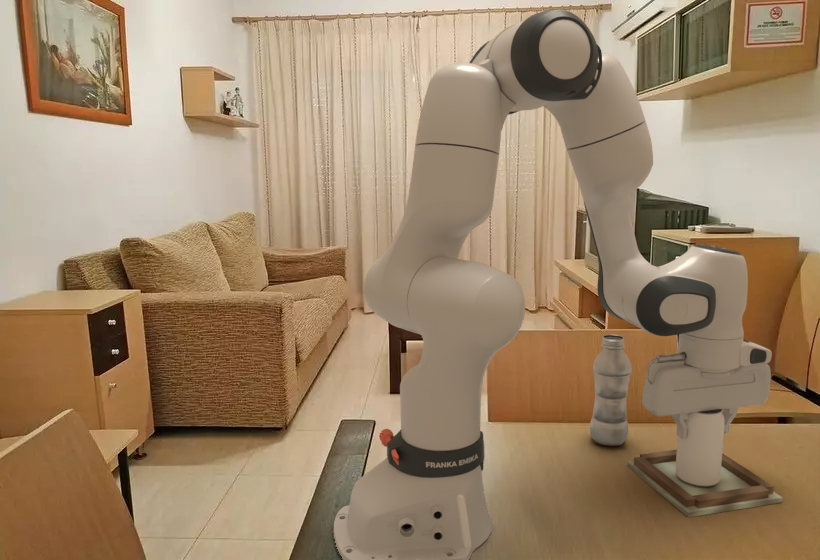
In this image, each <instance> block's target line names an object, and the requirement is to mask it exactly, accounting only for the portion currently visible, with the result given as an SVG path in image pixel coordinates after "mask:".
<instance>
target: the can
mask: <svg viewBox="0 0 820 560" xmlns="http://www.w3.org/2000/svg"><path fill="white" fill-rule="evenodd" d="M722 411H723V410H722V409H719V410H711V411H702V412H694V413H688V417H687V419H684V421H685V423H686V425H687V427H688V437H687V438H686V439H681V438H680V437H678V436H677V442H676V450H677V455H676V475H677V476H678V477H679V479H680V480H682V481H683V482H685V483H687V484H690V485H694V486H699V487H711V486H714V485H716V484H717V483H718V482H719V481H720V474H721V462H722V453H723V447H724V435H725V434H724V421H725V420H724V416H723V414H722Z"/></svg>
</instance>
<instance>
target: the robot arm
mask: <svg viewBox="0 0 820 560" xmlns="http://www.w3.org/2000/svg"><path fill="white" fill-rule="evenodd" d="M540 108H545V109H547V111H548V112H550V113H551V114H552V116H553V117H554V119H555V120H556V122H557V123H558V126H559V127H560V131H561V135H562V139H563V142H564V146H565V148H566V152H567V154H568V158H569V160H570V164H571V166H572V169H573V172H574V175H575V177H576V181H577V183H578V186H579V189H580V192H581V197H582V200H583V205H584V209H585V213H586V218H587V222H588V226H589V229H590V234H591V237H592V241H593V245H594V248H595V251H596V257H597V262H598V277H597V286H596V287H597V288H596V290H597V297H598V300H599V302H600V304H601V306H602V308H603V309H604V310H605V311H606V312H607V313H608V314H610V315H611V316H613V317H615V318H616V319H617V318H618V319H620V320H623V321H625V322H627V323H629V324H631V325H633V326H635V327H637V328H639V329H641V330H643V331H644V332H647V333H649V334H650V335H655V336H659V337H671V336H677V335H678V347H677V352H675V353H674V352H673V353H670V354H659V355H656V357H655V358H653V359H651V360H650V361H649V363H648V364H647V367H646V377H645V381H644V384H643V385H644V386H643V391H642V397H641V398H642V399H641V403H642V404H641V405H642V406H643V407H644V408H645V409H646V410H647V412H649V413H650V414H652V415H653V416H656V417H665V416H666V417H668V416H671V417H672V419H673V421H674V423H675V425H676V436H677V438H678V437H680V438H681V439H686V438H687V437H688V427H687V425H686V423H685V421H684V419H687V417H688V413H694V412H702V411H711V410H719V409H722V414H723V416H724V420H725V421H724V435H725V434H729V433H730V425H731V423H732V422H733V420H734V419H735V417H736V416H737V414H738V408H743V407H745V408H746V407H752V406H753V407H754V406H760V405H764V404H765V403H766V401H767V400H768V399H769V397H770V393H771V392H770V391H771V379H772V377H771V376H772V375H771V374H772V373H771V367H770V365H769V364H768V363H770V362H771V360H772V354H773V353H772V351H771V349H769V348H767V347H764V346H762V345H760V344H757V343H755V342H752V341H749V340H747V339H744V337H745V335H744V334H745V333H744V332H745V331H744V327H743V316H744V314H745V311H746V309H747V303H748V302H747V301H748V287H749V286H748V285H749V281H748V280H749V278H748V277H749V274H748V266H747V262H746V258H745V257H744V255H743V254H742V253H740V252H739V251H736V250H735V249H730V248H726V247H722V246H721V247H720V246H718V245H711V244H704V243H701V244H699V243H698V244H692V245H691V246H689V247H690V248H689V249H688V250H686V252H685V253H683V254H681V255H680V256H679V257H677V258H675V259H674V260H672V261H669V262H668V263H666V264H663V265H660V266H655V265H653V264H651V263H650V262H649V261H647V260H646V258H644V256H643V255H642V254H641V252H640V249H639V248H638V247H639V246H638V244H637V243H638V242H637V239H636V235H635V230H634V227H633V222H632V217H631V214H630V206H629V205H630V199H631V198H632V194H633V193H634V192H635V191H636V190H637V189H638V188H640V186H642V184H643V183H644V182H645V181H646V180H647V178H648V176H649V175H650V173H651V171H652V168H653V165H654V154H653V153H654V152H653V144H652V143H653V142H652V138H651V134H650V131H649V127H648V124H647V122H646V117H645V114H644V112H643V108H642V106H641V103H640V101H639V97H638V96H637V93H636V91H635V88H634V86H633V84H632V82H631V80H630V78H629V76H628V74H627V72H626V71H625V69H624V67H623V64H621V62H620V61H619V59H618V58H617V57H615V56H614V55H612V54H610V53H605V52H602V49H601V47H600V46H599V45H598V44H597V41H596V38H595V36H594V35H593V33H592V31H591V29H590V28H589V27H588V25H587V24H586V23H585V22H584V21H583V20H582V19H581V18H580V17H579V16H577V15H576V14H575V13H573V12H571V11H570V10H569V11H568V10H565V9H564V10H563V9H549V10H545V11H544V10H543V11H540V12H537V13H533V14H532V15H530V16H529V17H527V18H526V19H524V20H522V21H520V22H518V23H515V24H513V25H510V26H507V27H506V28H504V29H503V30H501V31H500V32H499V33H497V34H496V35H495V36H494V37H493V38H492V39H490V40H488V41H487V42H485V43H484V44H483V45H482V46H480V47H479V49H478V50H477V51H476V52H475V53H474V55H473V56H472V58H471V59H470V61H469V62H455V63H450V64H448V65H445V66H442V67H441V68H439V69H438V70H437V71H436V72H435V73H434V74H433V75H432V76H431V78H430V80H429V83H428V85H427V89H426V93H425V95H424V98H423V103H422V107H421V110H420V115H419V120H418V125H417V130H416V137H415V145H414V153H413V161H412V167H411V175H410V176H411V177H410V181H409V182H410V183H409V191H408V197H407V201H406V205H405V208H404V213H403V215H402V218H401V221H400V223H399V226H398V228H397V231H396V233H395V235H394V237H393V238H392V241H391V243H390V244H389V246H388V248H387V250H386V251H385V252H384V253H383V254H381V256H380V257H379V258H377V259H376V260H375V261H374V262H373V263H372V264H371V266H370V267H369V269H368V270H367V273H366V275H365V279H364V285H363V291H364V292H363V295H364V298H365V300H366V304H367V306H368V307H369V308H370V310H371V311H372V312H373V313H374V314H376V315H377V316H378V317H379V318H380V319H383V320H384V321H385V322H387V323H388V324H390V325H392V326H394V327H396V328H399V329H402V330H405V331H408V332H412V333H414V334H417V335H420V336H421V338H422V341H423V347H422V354H421V357H420V361H419V363H417V364H416V365H414V366H413V367H411V368H410V369H409V370H407V371H406V373H404V375H403V376H402V379H401V381H400V384H399V394H400V395H399V399H400V401H399V402H400V407H399V409H400V430H399V431H398V432H396V434H395V435H394V433H393V431H392V430H391V429H390V428H384V429H382V430H381V431H380V432H379V440H380V442H381V445H382V446H384V447H386V458H385V459H384V460H382V461H381V462H380V463H378V464H377V465H376V466H374V467H373V468H372V469H370V470H369V471H368V472H367V473H365V474H364V475H362V476H361V477H359V478H358V479H357V480H356V481H355V483H354V486H353V488H352V489H351V494H350V498H349V504H348V505H344V506H342V507H341V508H340V509H339V511H337V513H336V515H335V518H334V521H333V533H334V534H333V540H334V539H335V541H334V544H335V543H336V545H335V548H336V547H337V548H336V550H337V549H338V551H339V553H340V555H341V556H342V558H341V560H470V558H471V557H472V555H473V552H474V551H475V550H476V549H477V548H479V547H480V546H482V544H484V542H486V541H487V539H488V538H489V537H490V535H491V532H492V529H493V523H492V520H491V517H490V514H489V509H488V505H487V502H486V495H485V489H484V482H483V474H482V473H483V470H484V463H485V441H484V440H485V439H484V432H483V431H482V430H481V419H482V418H481V412H482V411H481V409H482V392H483V390H482V389H483V383H484V378H485V374H486V372H487V368H488V366H489V365H490V363H491V360H492V359H493V357H494V356H495V355H496V353H497V352H498V351H499V350H501V349H502V348H504V347H506V346H507V345H509V343H511V342H512V341H513V339H515V337H516V336H517V334H518V333H519V331H520V329H521V328H522V325H523V323H524V319H525V313H526V300H525V294H524V292H523V289H522V286H521V284H520V283H519V281H518V280H517V279H516V278H515V277H514V276H513V275H510V274H509V273H507V272H504V271H503V270H501V269H498V268H496V267H494V266H491V265H489V264H486V263H484V262H480V261H473V260H466V259H461V258H459V256H460V253H461V249H462V247H463V245H464V243H465V241H466V240H467V238H468V236H469V235H470V233H471V232H472V231H473V230H474V229H476V228H477V227H480V226H481V225H482V224H484V222H486V221H487V219H488V218H489V216H490V215H491V213H492V211H493V207H494V197H495V189H496V184H497V183H496V182H497V181H496V180H497V174H498V166H499V158H500V151H501V141H502V140H501V138H502V131H503V127H504V124H505V122H506V119H507V117H508V115H513V114H516V113H518V112H520V111H522V112H523V111H533V110H538V109H540ZM338 551H337V552H338ZM339 553H338V554H339ZM340 555H339V556H340Z"/></svg>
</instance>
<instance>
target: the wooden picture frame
mask: <svg viewBox="0 0 820 560" xmlns="http://www.w3.org/2000/svg"><path fill="white" fill-rule="evenodd" d="M676 455H677V449H670V450H664V451H654V452H649V453H641V454H639V456H636V457H635V456H634V457H633V460H627V461H626V467H628V468H629V469H631V471H633V472H634V473H635V474H636V475H637V476H639V477H640V479H642V480H643V481H645V482H646V483H647V484H648V485H649V486H650V487H651V488H653V490H655V491H656V492H658V493H659V494H660V495H661V496H662V497H663V498H665V499H666V500H667V501H668V502H669V503H670V504H671V505H673V506H674V507H675V508H676V509H677V510H679V511H680V512H681V513H682V514H683V515H684V516H685V517H687V518H693V517H701V516H706V515H713V514H718V513H723V512H730V511H737V510H743V509H750V508H755V507H761V506H768V505H775V504H780V503H781V504H782V503H783V497H782V496H781V495H780V494H778V493H776V492H775V491H774V489H775V487H774V485H772V484H771V483H769V482H768V481H766V480H765V479H763V478H761V477H760V476H758V475H757V474H755V473H754V472H752V471H751V470H750V469H748V468H746V467H744V465H742V464H740V463H738V462H737V461H735V460H733V459H732V458H731V457H729V456H727V455H726V454H725V453H723V452H722V462H721V474H720V481H719V482H718V483H717V484H716V485H714V486H711V487H699V486H694V485H690V484H687V483H685V482H683V481H682V480H680V479H679V477H678V476H677V475H676Z"/></svg>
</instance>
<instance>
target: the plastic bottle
mask: <svg viewBox="0 0 820 560" xmlns="http://www.w3.org/2000/svg"><path fill="white" fill-rule="evenodd" d="M600 346H601V348H602V350H601V351H600V352H599V353H598V355H597V356H596V357H595V359H594V361H593V363H592V364H593V366H592V369H593V377H594V393H595V394H594V404H593V409H592V410H593V412H592V416H591V418H590V424H589V431H590V437H591V439H593V441H594V442H595V443H597V444H600V445H603V446H608V447H615V446H616V447H617V446H620V445H622V444H624V442H625V441H626V440H627V438H628V434H629V424H628V419H627V418H628V416H627V399H628V397H627V395H628V391H629V384H630V379H631V375H632V371H633V370H632V369H633V368H632V367H633V366H632V362H631V360H630V358H629V357H628V355H627V354H626V353H625V352H624V350H625V348H626V347H625V337H624V336H622V335H618V334H604V335H602V338H601V345H600Z"/></svg>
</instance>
